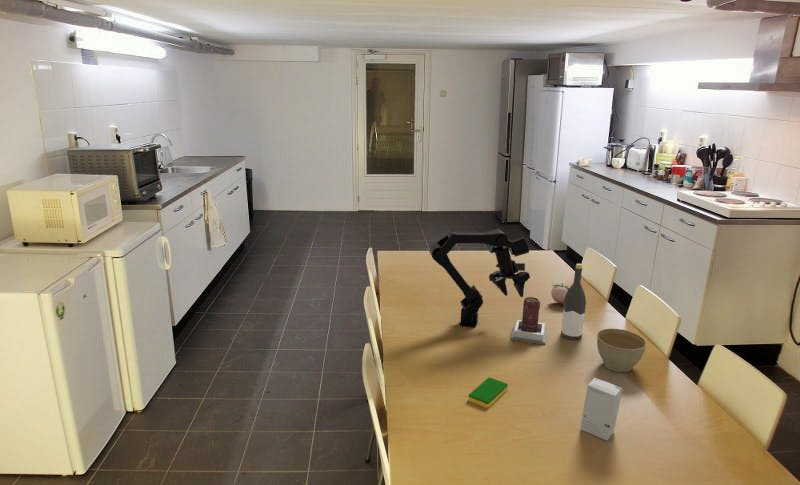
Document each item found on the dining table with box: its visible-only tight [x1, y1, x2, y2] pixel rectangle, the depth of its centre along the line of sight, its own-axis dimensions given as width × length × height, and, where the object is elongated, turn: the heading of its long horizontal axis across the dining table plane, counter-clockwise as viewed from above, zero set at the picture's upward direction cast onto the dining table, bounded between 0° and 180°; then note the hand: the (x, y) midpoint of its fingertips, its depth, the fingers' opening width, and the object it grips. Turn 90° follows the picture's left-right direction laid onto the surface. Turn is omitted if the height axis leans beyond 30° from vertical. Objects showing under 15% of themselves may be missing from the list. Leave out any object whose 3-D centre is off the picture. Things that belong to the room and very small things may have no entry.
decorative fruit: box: [550, 283, 571, 305], centre depth 243 cm, size 9×8×10 cm
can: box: [521, 296, 541, 333], centre depth 212 cm, size 6×6×14 cm
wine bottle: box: [560, 263, 587, 341], centre depth 210 cm, size 8×8×30 cm
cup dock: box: [510, 319, 548, 346], centre depth 213 cm, size 13×13×4 cm
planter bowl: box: [596, 328, 648, 373], centre depth 189 cm, size 16×16×11 cm
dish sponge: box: [468, 377, 509, 408], centre depth 172 cm, size 7×14×2 cm, turn 143°
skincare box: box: [579, 377, 623, 441], centre depth 153 cm, size 8×6×15 cm
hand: (514, 296), depth 219 cm, fingers open, 9 cm apart
